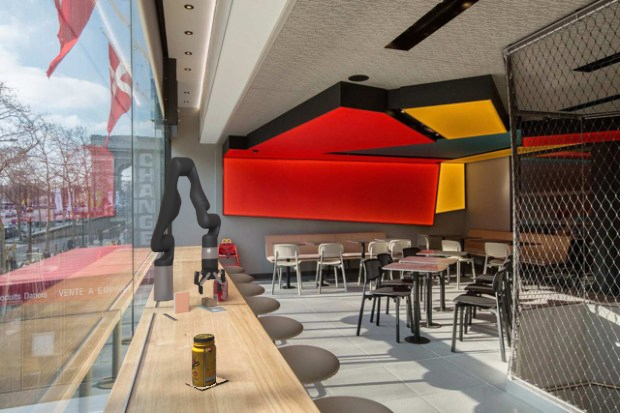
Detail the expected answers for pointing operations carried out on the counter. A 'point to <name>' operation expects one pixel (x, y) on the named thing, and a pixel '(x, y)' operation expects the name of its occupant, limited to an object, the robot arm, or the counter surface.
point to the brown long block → (211, 304)
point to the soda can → (224, 292)
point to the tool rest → (208, 308)
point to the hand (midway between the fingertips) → (210, 293)
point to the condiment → (204, 360)
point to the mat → (170, 317)
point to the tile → (181, 302)
